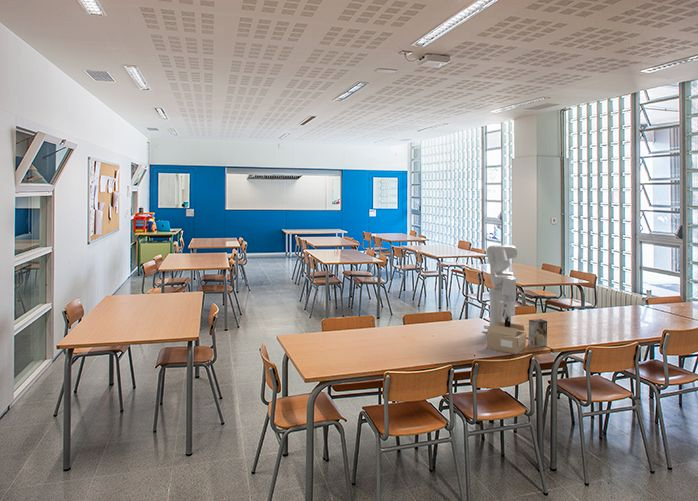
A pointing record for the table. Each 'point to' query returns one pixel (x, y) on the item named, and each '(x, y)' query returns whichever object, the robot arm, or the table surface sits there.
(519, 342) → the carton
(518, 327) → the far flap
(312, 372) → the table surface
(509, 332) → the near flap
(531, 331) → the coffee box
